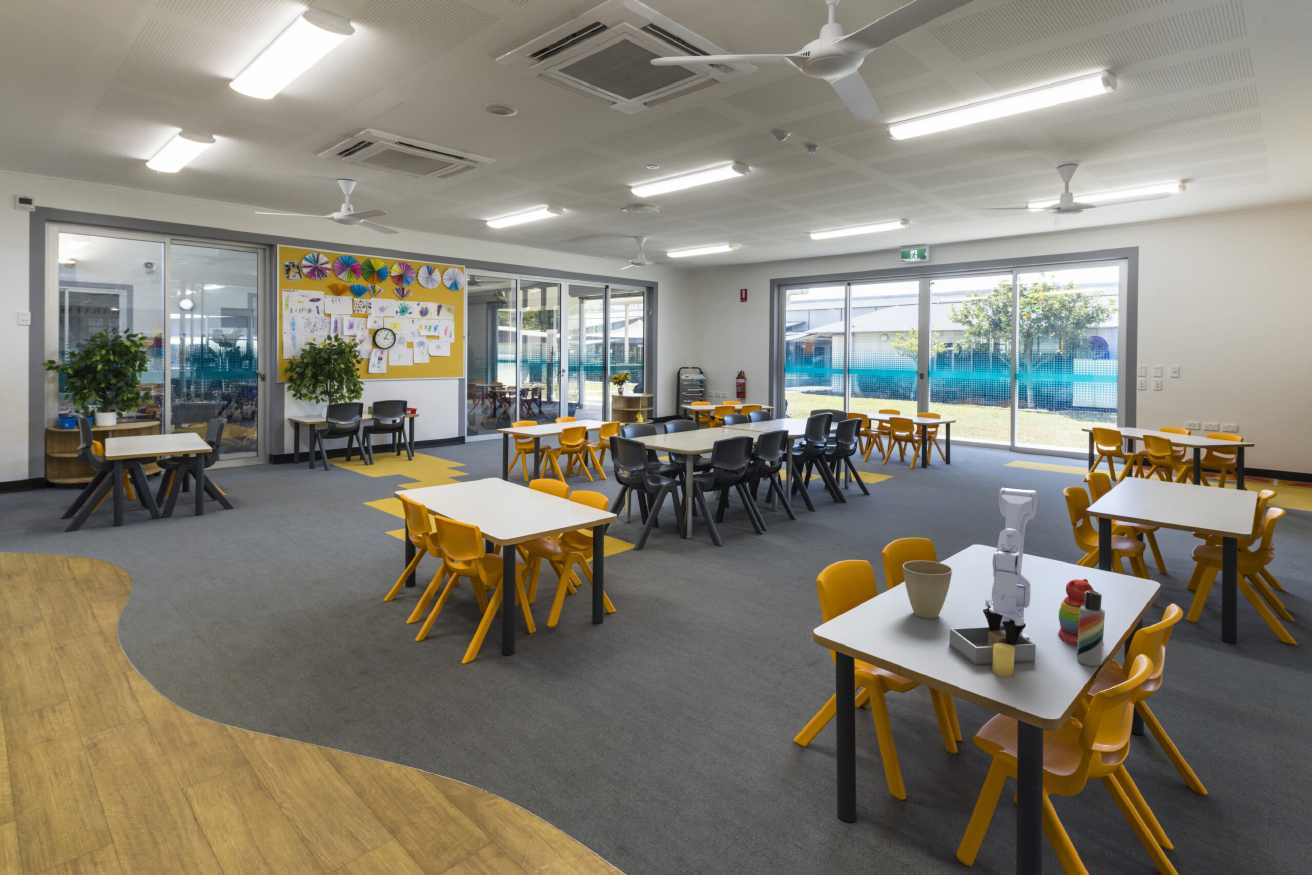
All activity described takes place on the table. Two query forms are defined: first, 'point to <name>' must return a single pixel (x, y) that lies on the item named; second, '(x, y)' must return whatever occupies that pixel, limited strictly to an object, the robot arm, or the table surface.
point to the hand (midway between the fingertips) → (1002, 640)
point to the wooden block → (996, 637)
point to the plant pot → (927, 586)
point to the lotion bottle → (1091, 630)
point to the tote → (979, 653)
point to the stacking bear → (1072, 610)
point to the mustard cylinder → (1003, 659)
